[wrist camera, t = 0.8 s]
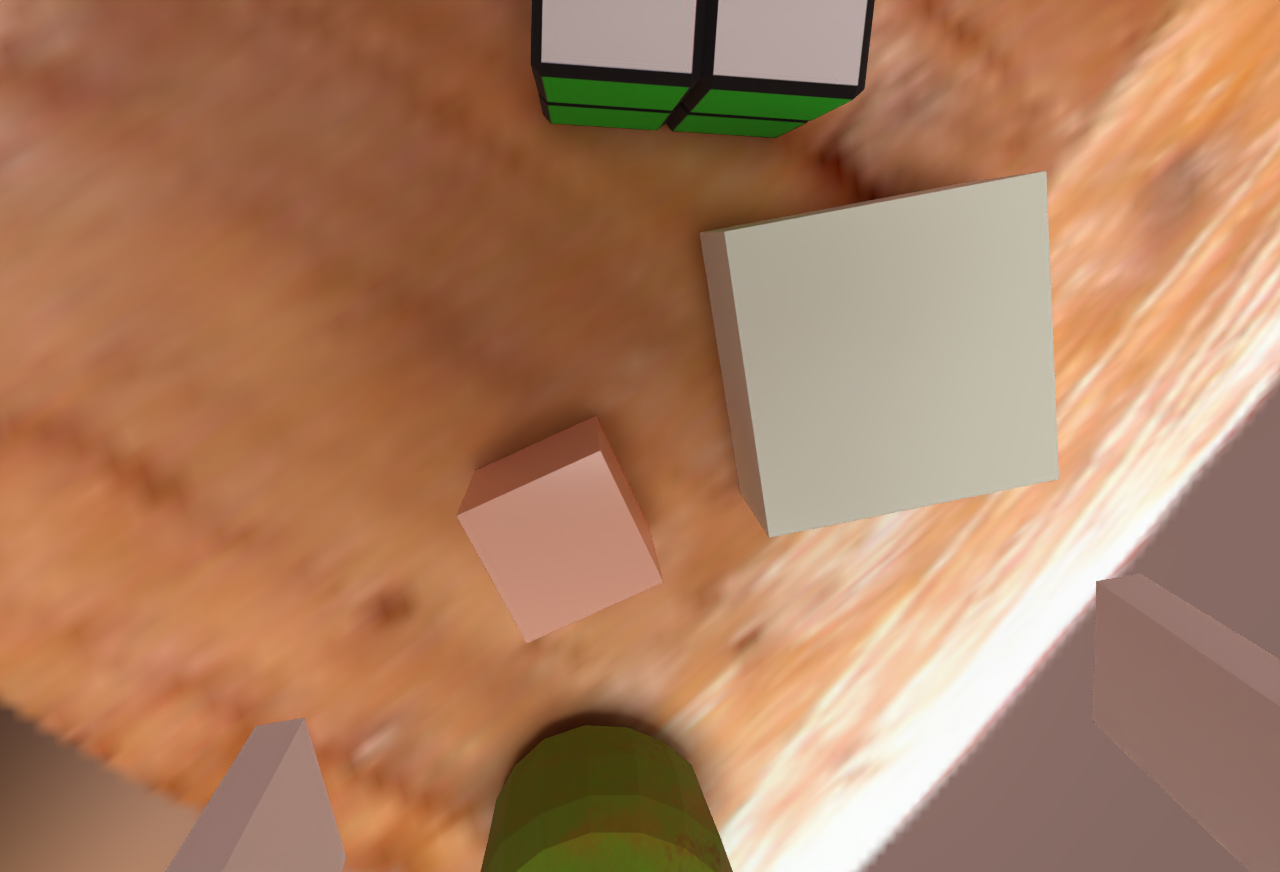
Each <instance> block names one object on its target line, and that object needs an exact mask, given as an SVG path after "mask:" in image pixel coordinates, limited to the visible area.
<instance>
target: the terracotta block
mask: <svg viewBox="0 0 1280 872" xmlns="http://www.w3.org/2000/svg"><path fill="white" fill-rule="evenodd" d="M457 518H458V519H459V521H460V523H461V525H462V527H463V529H464V530H465V532H466V534H467V536H468V538H469V540H470V541H471V543H472V545H473V547H474V549H475V550H476V552H477V554H478V556H479V558H480V560H481V561H482V563H483V565H484V567H485V569H486V570H487V572H488V574H489V576H490V578H491V580H492V581H493V583H494V585H495V587H496V589H497V591H498V592H499V594H500V596H501V598H502V600H503V601H504V603H505V605H506V607H507V609H508V611H509V612H510V614H511V616H512V618H513V620H514V622H515V623H516V625H517V627H518V629H519V631H520V632H521V634H522V636H523V638H524V640H525V642H526V643H529V642H531V641H533V640H535V639H538V638H540V637H542V636H544V635H547V634H549V633H551V632H553V631H556V630H558V629H560V628H562V627H565V626H567V625H569V624H571V623H574V622H576V621H578V620H580V619H582V618H585V617H587V616H589V615H591V614H594V613H596V612H598V611H600V610H603V609H605V608H607V607H609V606H612V605H614V604H616V603H618V602H621V601H623V600H625V599H627V598H629V597H632V596H634V595H636V594H638V593H641V592H643V591H645V590H647V589H650V588H652V587H654V586H656V585H659V584H661V583H663V579H662V575H661V571H660V567H659V563H658V559H657V555H656V551H655V548H654V544H653V540H652V536H651V532H650V528H649V526H648V524H647V522H646V520H645V518H644V516H643V513H642V511H641V509H640V507H639V505H638V503H637V501H636V499H635V497H634V495H633V492H632V490H631V488H630V486H629V484H628V482H627V480H626V478H625V476H624V474H623V471H622V469H621V467H620V465H619V463H618V461H617V459H616V457H615V455H614V452H613V450H612V448H611V446H610V444H609V442H608V440H607V438H606V436H605V434H604V431H603V429H602V427H601V425H600V423H599V421H598V419H597V417H596V416H594V417H592V418H590V419H588V420H585V421H583V422H581V423H579V424H577V425H574V426H572V427H570V428H568V429H566V430H563V431H561V432H559V433H557V434H555V435H552V436H550V437H548V438H546V439H544V440H541V441H539V442H537V443H535V444H533V445H530V446H528V447H526V448H524V449H522V450H519V451H517V452H515V453H513V454H511V455H508V456H506V457H504V458H502V459H500V460H497V461H495V462H493V463H491V464H489V465H486V466H484V467H482V468H480V469H478V470H476V471H475V473H474V475H473V478H472V480H471V482H470V485H469V487H468V490H467V492H466V494H465V497H464V499H463V501H462V504H461V506H460V509H459V511H458V513H457Z"/></svg>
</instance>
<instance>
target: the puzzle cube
mask: <svg viewBox="0 0 1280 872" xmlns="http://www.w3.org/2000/svg"><path fill="white" fill-rule="evenodd" d="M874 1H875V0H532V26H531V67H532V70H533V74H534V78H535V81H536V85H537V89H538V92H539V98H540V102H541V106H542V111H543V115H544V116H545V117H546V118H547V119H548V120H549V122H550V123H554V124H569V125H584V126H599V127H614V128H629V129H644V130H658V129H659V128H660V127H661V126H663V125H664V124H665V123H667V125H668V126H669V127H670V128H671V130H672V131H681V132H696V133H711V134H726V135H741V136H756V137H771V138H777V137H779V136H781V135H783V134H785V133H787V132H789V131H791V130H793V129H795V128H797V127H799V126H801V125H803V124H805V123H807V122H808V121H809V120H810V121H811V120H813V119H815V118H817V117H819V116H821V115H823V114H825V113H827V112H829V111H831V110H833V109H835V108H837V107H839V106H841V105H843V104H845V103H847V102H849V101H851V100H853V99H854V98H855V97H856V96H857V95H858V94H860V93H861V92H862V91H863V90H864V88H865V80H866V71H867V62H868V54H869V45H870V36H871V27H872V19H873V10H874Z"/></svg>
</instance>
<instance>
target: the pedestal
mask: <svg viewBox="0 0 1280 872" xmlns="http://www.w3.org/2000/svg"><path fill="white" fill-rule="evenodd" d="M699 233H700V239H701V245H702V252H703V258H704V265H705V271H706V278H707V284H708V290H709V297H710V303H711V310H712V316H713V323H714V329H715V335H716V342H717V348H718V355H719V361H720V368H721V374H722V381H723V387H724V393H725V400H726V406H727V413H728V419H729V426H730V432H731V438H732V445H733V451H734V458H735V464H736V471H737V477H738V483H739V490H740V493H741V495H742V496H743V498H744V499H745V501H746V503H747V504H748V506H749V507H750V509H751V510H752V512H753V513H754V515H755V516H756V518H757V520H758V521H759V523H760V524H761V526H762V527H763V529H764V530H765V532H766V533H767V535H768V537H769V538H770V537H775V536H780V535H785V534H790V533H795V532H800V531H805V530H810V529H815V528H820V527H825V526H830V525H835V524H840V523H845V522H850V521H854V520H859V519H864V518H869V517H874V516H879V515H884V514H889V513H894V512H899V511H904V510H909V509H914V508H919V507H924V506H929V505H934V504H939V503H944V502H949V501H954V500H958V499H963V498H968V497H973V496H978V495H983V494H988V493H993V492H998V491H1003V490H1008V489H1013V488H1018V487H1023V486H1028V485H1033V484H1038V483H1043V482H1048V481H1053V480H1057V479H1059V470H1058V446H1057V421H1056V397H1055V373H1054V349H1053V325H1052V300H1051V276H1050V252H1049V228H1048V204H1047V180H1046V171H1043V172H1036V173H1029V174H1022V175H1014V176H1007V177H1000V178H993V179H985V180H978V181H971V182H965V183H960V184H955V185H949V186H944V187H939V188H933V189H928V190H923V191H917V192H912V193H907V194H901V195H896V196H891V197H885V198H880V199H875V200H869V201H864V202H859V203H853V204H848V205H843V206H838V207H832V208H827V209H822V210H816V211H811V212H806V213H800V214H795V215H790V216H784V217H779V218H774V219H768V220H763V221H758V222H752V223H747V224H742V225H736V226H731V227H726V228H721V229H715V230H710V231H705V232H699Z"/></svg>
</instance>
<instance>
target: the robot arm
mask: <svg viewBox="0 0 1280 872" xmlns="http://www.w3.org/2000/svg"><path fill="white" fill-rule="evenodd" d="M1093 723H1095V724H1096V725H1097V726H1098V727H1099V728H1100V729H1101V730H1102V731H1103V732H1104V733H1105V734H1106V735H1107V736H1108V737H1109V738H1110V739H1111V740H1113V742H1114V743H1116V744H1117V745H1118V746H1119V747H1120V748H1121V749H1122V750H1123V751H1124V752H1125V753H1126V754H1127V755H1128V756H1129V757H1130V758H1131V759H1132V760H1133V761H1134V762H1136V764H1137V765H1139V766H1140V767H1141V768H1142V769H1143V770H1144V771H1145V772H1146V773H1147V774H1148V775H1149V776H1150V777H1151V778H1152V779H1153V780H1154V781H1155V782H1156V783H1157V784H1158V785H1159V786H1160V787H1162V788H1163V789H1164V790H1165V791H1166V792H1167V793H1168V794H1169V795H1170V796H1171V797H1172V798H1173V799H1174V800H1175V801H1176V802H1177V803H1178V804H1179V805H1180V806H1182V807H1183V808H1184V809H1185V810H1186V811H1187V812H1188V813H1189V814H1190V815H1191V816H1192V817H1193V818H1194V819H1195V820H1196V821H1197V822H1198V823H1199V824H1200V825H1201V826H1202V827H1204V828H1205V829H1206V830H1207V831H1208V832H1209V833H1210V834H1211V835H1212V836H1213V837H1214V838H1215V839H1216V840H1217V841H1218V842H1219V843H1220V844H1221V845H1222V846H1223V847H1224V848H1226V849H1227V850H1228V851H1229V852H1230V853H1231V854H1232V855H1233V856H1234V857H1235V858H1236V859H1237V860H1238V861H1239V862H1240V863H1241V864H1242V865H1243V866H1244V867H1245V868H1246V869H1247V870H1249V871H1250V872H1280V659H1278V658H1276V657H1275V656H1273V655H1271V654H1269V653H1268V652H1267V651H1265V650H1263V649H1262V648H1260V647H1258V646H1257V645H1255V644H1254V643H1252V642H1250V641H1249V640H1247V639H1245V638H1244V637H1242V636H1241V635H1239V634H1237V633H1236V632H1234V631H1232V630H1231V629H1229V628H1228V627H1226V626H1224V625H1223V624H1221V623H1219V622H1218V621H1216V620H1215V619H1213V618H1211V617H1210V616H1208V615H1207V614H1205V613H1203V612H1202V611H1200V610H1198V609H1197V608H1195V607H1193V606H1192V605H1190V604H1188V603H1187V602H1185V601H1184V600H1182V599H1180V598H1179V597H1177V596H1176V595H1174V594H1172V593H1171V592H1169V591H1167V590H1166V589H1164V588H1163V587H1161V586H1159V585H1158V584H1156V583H1155V582H1153V581H1151V580H1150V579H1148V578H1146V577H1145V576H1143V575H1142V574H1135V575H1130V576H1124V577H1118V578H1112V579H1106V580H1101V581H1096V616H1095V656H1094V694H1093ZM345 859H346V854H345V851H344V848H343V844H342V841H341V838H340V834H339V831H338V828H337V824H336V821H335V818H334V814H333V811H332V808H331V804H330V801H329V798H328V794H327V791H326V788H325V785H324V781H323V778H322V775H321V771H320V768H319V765H318V761H317V758H316V755H315V751H314V748H313V745H312V741H311V738H310V735H309V731H308V728H307V725H306V721H305V718H300V719H294V720H289V721H283V722H277V723H271V724H265V725H260V726H256V727H255V728H254V730H253V731H252V733H251V735H250V736H249V738H248V739H247V741H246V743H245V744H244V746H243V748H242V749H241V751H240V752H239V754H238V756H237V757H236V759H235V760H234V762H233V764H232V765H231V767H230V768H229V770H228V772H227V773H226V775H225V776H224V778H223V780H222V781H221V783H220V785H219V786H218V788H217V789H216V791H215V793H214V794H213V796H212V797H211V799H210V801H209V802H208V804H207V805H206V807H205V809H204V810H203V812H202V814H201V815H200V817H199V818H198V820H197V822H196V823H195V825H194V826H193V828H192V830H191V831H190V833H189V834H188V836H187V838H186V839H185V841H184V843H183V844H182V846H181V847H180V849H179V851H178V852H177V854H176V856H175V857H174V859H173V860H172V862H171V863H170V865H169V867H168V868H167V870H166V871H165V872H341V871H342V868H343V865H344V862H345Z"/></svg>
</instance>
